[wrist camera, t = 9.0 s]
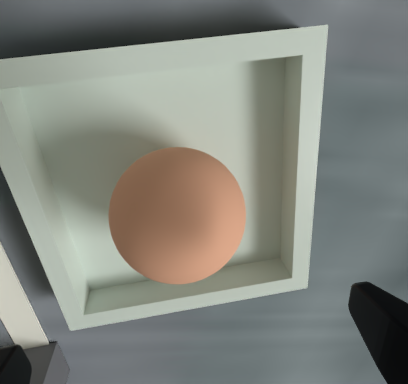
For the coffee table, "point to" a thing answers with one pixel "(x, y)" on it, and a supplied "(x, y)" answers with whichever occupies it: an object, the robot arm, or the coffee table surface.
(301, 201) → the tray
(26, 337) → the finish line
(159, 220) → the ball
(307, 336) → the coffee table surface
